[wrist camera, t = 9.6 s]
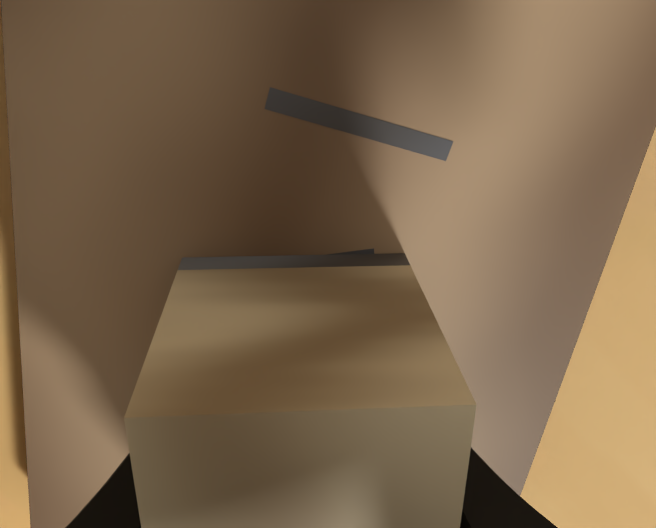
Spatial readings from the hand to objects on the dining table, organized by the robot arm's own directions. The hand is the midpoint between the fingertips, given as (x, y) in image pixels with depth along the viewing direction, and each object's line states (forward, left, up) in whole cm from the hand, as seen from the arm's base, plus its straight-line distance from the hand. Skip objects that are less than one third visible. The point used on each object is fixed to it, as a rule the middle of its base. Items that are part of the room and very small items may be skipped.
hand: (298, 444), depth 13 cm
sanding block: (0, 0, -1) cm, 1 cm away
